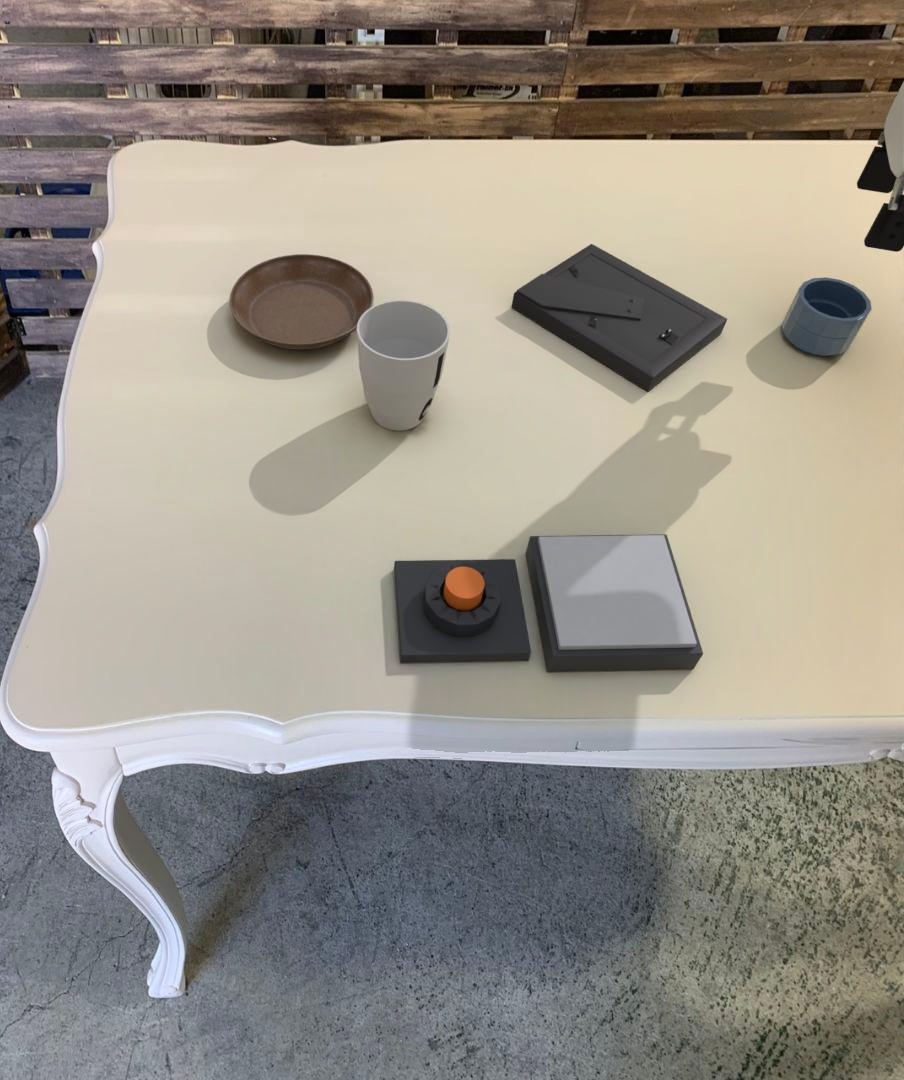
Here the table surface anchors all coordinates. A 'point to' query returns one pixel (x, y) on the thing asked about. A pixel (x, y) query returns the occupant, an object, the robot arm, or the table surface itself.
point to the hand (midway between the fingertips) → (876, 217)
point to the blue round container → (825, 316)
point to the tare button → (463, 588)
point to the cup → (401, 360)
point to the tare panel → (459, 614)
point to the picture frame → (619, 315)
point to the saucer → (301, 300)
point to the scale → (610, 604)
